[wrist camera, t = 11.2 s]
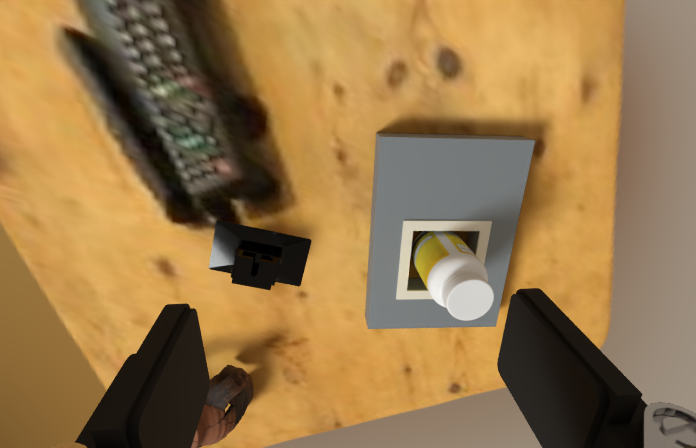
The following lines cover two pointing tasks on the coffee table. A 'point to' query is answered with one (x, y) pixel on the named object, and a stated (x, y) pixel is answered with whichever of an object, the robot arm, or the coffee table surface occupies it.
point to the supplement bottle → (452, 274)
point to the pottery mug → (223, 405)
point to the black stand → (258, 255)
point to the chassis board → (441, 217)
